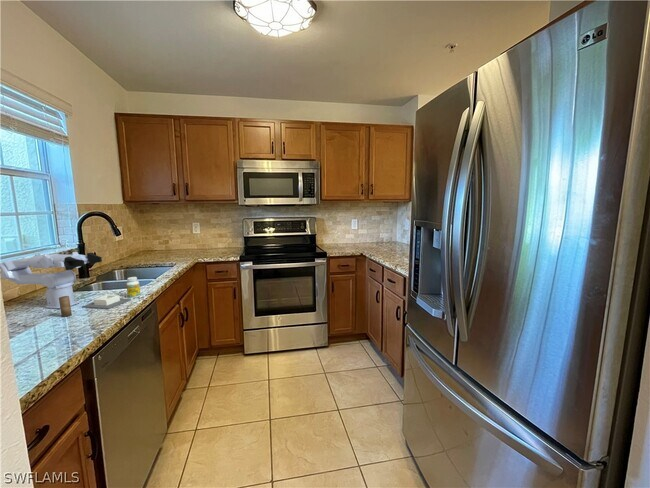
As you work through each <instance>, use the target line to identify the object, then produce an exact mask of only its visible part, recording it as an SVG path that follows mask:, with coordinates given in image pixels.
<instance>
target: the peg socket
mask: <svg viewBox="0 0 650 488" xmlns="http://www.w3.org/2000/svg"><path fill="white" fill-rule="evenodd" d="M130 301H132V298H121V297H120V295H117V294H105V295H103V296H99V297H97V298H94V299H93V302H91V303H88V304H85V305H82V306H81V308H82V309H83V308H84V309H96V310H97V309H98V310H110V309H113V308H115V307H118V306H121V305H123V304H125V303H128V302H130Z"/></svg>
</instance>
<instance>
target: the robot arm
mask: <svg viewBox="0 0 650 488" xmlns="http://www.w3.org/2000/svg"><path fill="white" fill-rule="evenodd" d="M102 262H103V260H102V256H99V255H96V254H95V253H94V252H87V253H86V255H85V254H79V252H78V251H73V252H72V253H71V254H60V253H51V254H49V253H45V254H41V253H36V254H34V255H33V256H31V257H30V258H18V259H17V258H16V259H11V260H7V261H3V262H0V269H1V278H0V279H3V280H5V279H6V280H8V281H11V282H12V283H15V284H17V285H42V286H43V287H47V289H46V291H45V298H46V304H47V305H46V306H45V308H46V309H60V303H59V297H63V296H69V299H70V306H71V307H72V306H74V305H77V304H80V301H75V296H74V289H73V285H74V283H75V282H76V280H77V275H76V273H75V272H74V271H73V270H74V269H79V268H81V267H85V265H86V264H88V263H89V266H94V265H95V264H96V263H97V264H99V263H102ZM30 267H31V268H33V269H45V270H48V269H51V268H64V269H65V270H64V271H59V272H51V273H49V272H47V273H46V272H38V273H35V272H34V273H33V272H32V270H31V268H30ZM60 310H61V309H60Z"/></svg>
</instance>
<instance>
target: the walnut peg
mask: <svg viewBox="0 0 650 488" xmlns="http://www.w3.org/2000/svg"><path fill="white" fill-rule="evenodd" d="M59 303H60V315H61V318H68V317H71V316H72V314H73V313H72V306H70V299H69V296H63V297H59Z"/></svg>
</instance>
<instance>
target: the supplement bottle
mask: <svg viewBox="0 0 650 488" xmlns="http://www.w3.org/2000/svg"><path fill="white" fill-rule="evenodd" d="M126 281H127V282H126V285H125V286H126V293H127V294H126V295H127V299H135V298H138V297H141V287H140V281H139V280H138V276H131V277H127V279H126Z"/></svg>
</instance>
